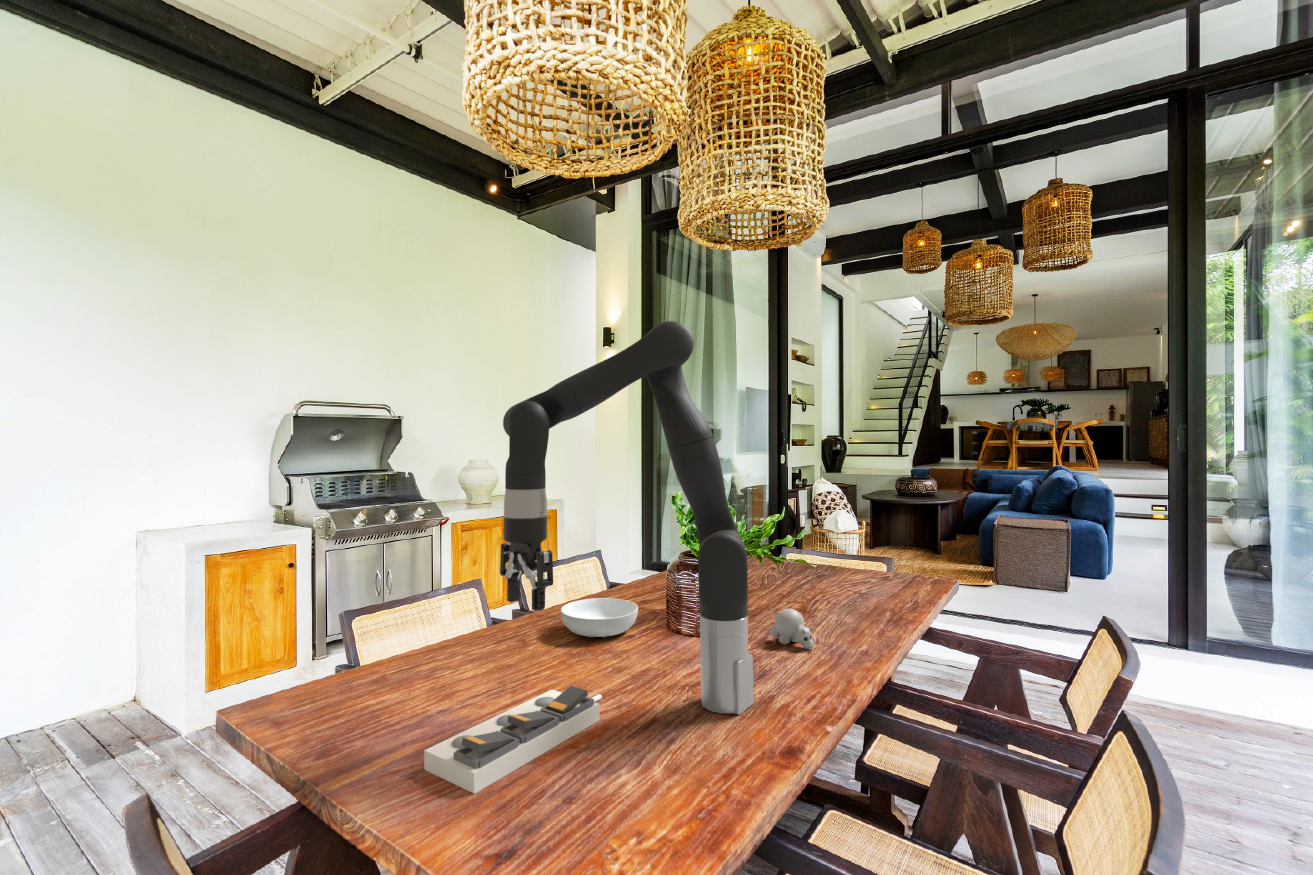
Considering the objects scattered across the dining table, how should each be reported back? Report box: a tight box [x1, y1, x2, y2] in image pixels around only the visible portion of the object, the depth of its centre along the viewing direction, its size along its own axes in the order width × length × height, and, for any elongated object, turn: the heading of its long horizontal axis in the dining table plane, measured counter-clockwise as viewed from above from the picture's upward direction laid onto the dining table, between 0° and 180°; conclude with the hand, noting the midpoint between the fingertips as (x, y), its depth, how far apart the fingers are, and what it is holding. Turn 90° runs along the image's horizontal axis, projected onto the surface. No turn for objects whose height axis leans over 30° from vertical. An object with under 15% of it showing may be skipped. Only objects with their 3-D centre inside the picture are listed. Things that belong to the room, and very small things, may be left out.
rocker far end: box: [462, 732, 512, 752], centre depth 93 cm, size 6×4×1 cm, turn 145°
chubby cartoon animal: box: [770, 608, 815, 650], centre depth 149 cm, size 7×12×8 cm, turn 33°
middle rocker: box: [507, 712, 553, 728], centre depth 100 cm, size 6×4×1 cm, turn 145°
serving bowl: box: [560, 597, 639, 638], centre depth 162 cm, size 21×21×7 cm
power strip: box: [423, 689, 603, 795], centre depth 105 cm, size 36×12×4 cm, turn 145°
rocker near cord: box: [547, 685, 589, 714], centre depth 108 cm, size 6×4×1 cm, turn 146°
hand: (525, 605), depth 107 cm, fingers open, 8 cm apart
